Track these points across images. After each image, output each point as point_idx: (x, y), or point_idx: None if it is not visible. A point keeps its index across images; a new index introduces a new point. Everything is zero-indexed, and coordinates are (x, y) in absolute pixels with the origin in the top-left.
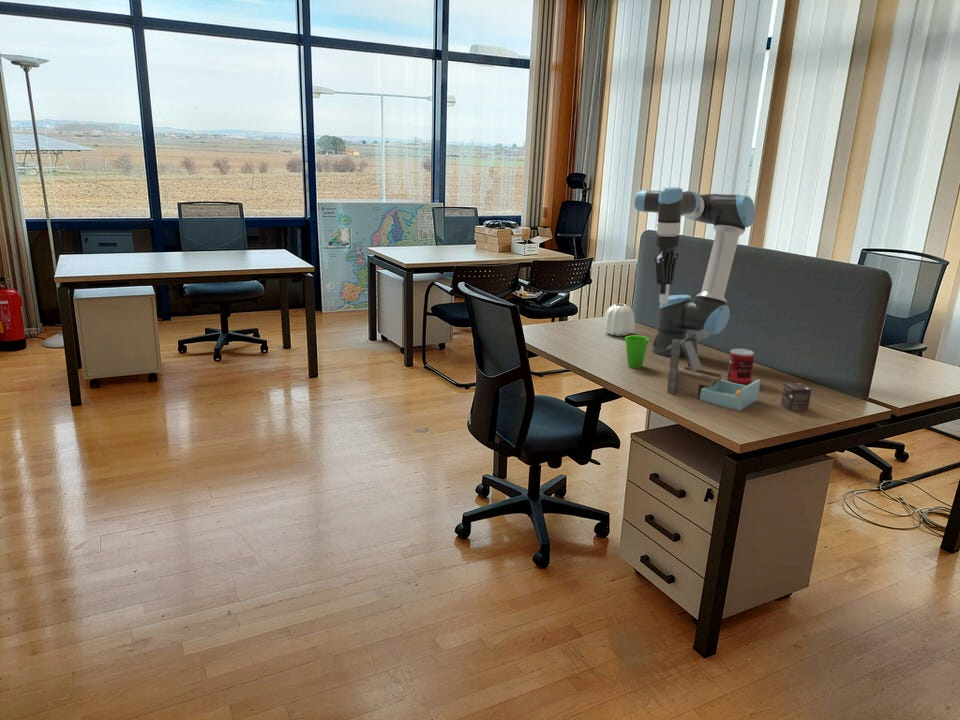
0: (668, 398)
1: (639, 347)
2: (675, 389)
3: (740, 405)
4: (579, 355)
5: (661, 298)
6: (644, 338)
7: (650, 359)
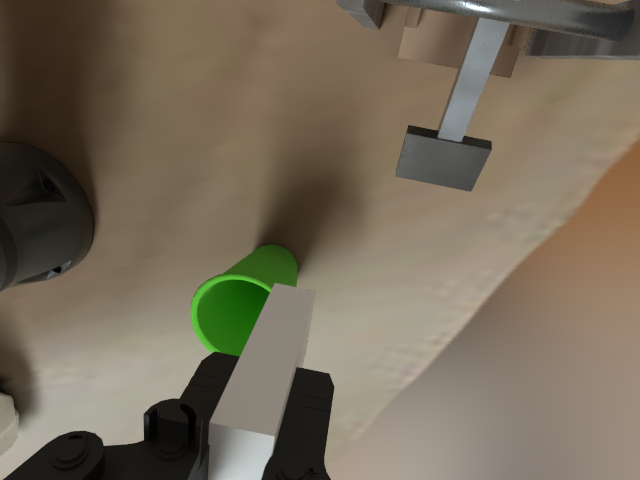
0: None
1: None
2: None
3: None
4: None
5: (302, 360)
6: (202, 298)
7: (165, 243)
